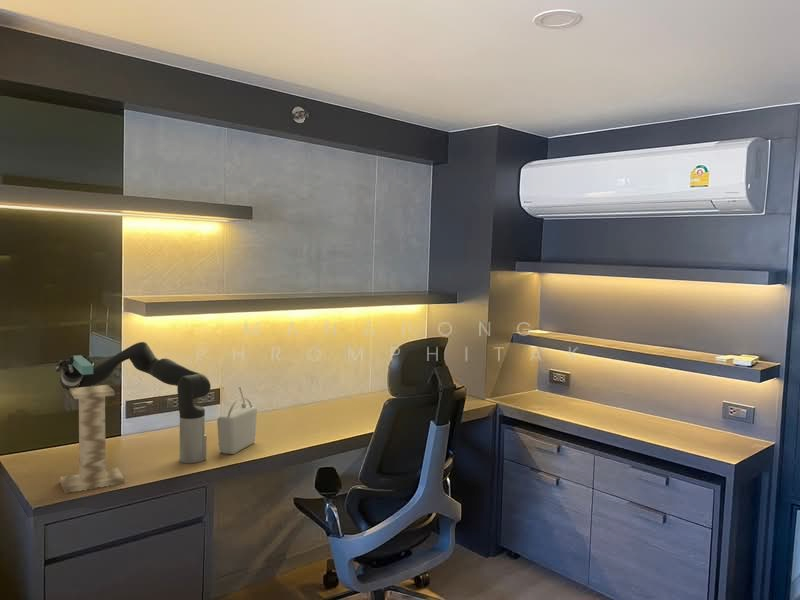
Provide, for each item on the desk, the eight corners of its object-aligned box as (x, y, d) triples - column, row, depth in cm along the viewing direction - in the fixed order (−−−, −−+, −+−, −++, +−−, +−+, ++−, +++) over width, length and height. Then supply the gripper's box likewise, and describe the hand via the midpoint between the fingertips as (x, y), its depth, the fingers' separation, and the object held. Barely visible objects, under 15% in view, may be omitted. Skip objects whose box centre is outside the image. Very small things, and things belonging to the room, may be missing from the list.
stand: (117, 473, 217) (116, 384, 215) (124, 483, 207) (124, 390, 205) (60, 482, 206) (59, 389, 204) (65, 493, 196) (64, 395, 195)
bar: (81, 362, 233) (81, 355, 233) (93, 373, 212) (93, 365, 212) (71, 363, 231) (70, 355, 231) (82, 374, 210) (82, 366, 210)
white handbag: (240, 439, 261) (241, 383, 260) (258, 441, 259) (258, 384, 258) (212, 454, 240) (213, 392, 239) (231, 456, 238) (231, 394, 237)
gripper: (51, 366, 236) (56, 349, 224) (91, 363, 245) (98, 347, 232) (53, 384, 234) (58, 368, 221) (93, 381, 242) (100, 365, 230)
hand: (78, 358), depth 227 cm, fingers closed on bar, 3 cm apart
